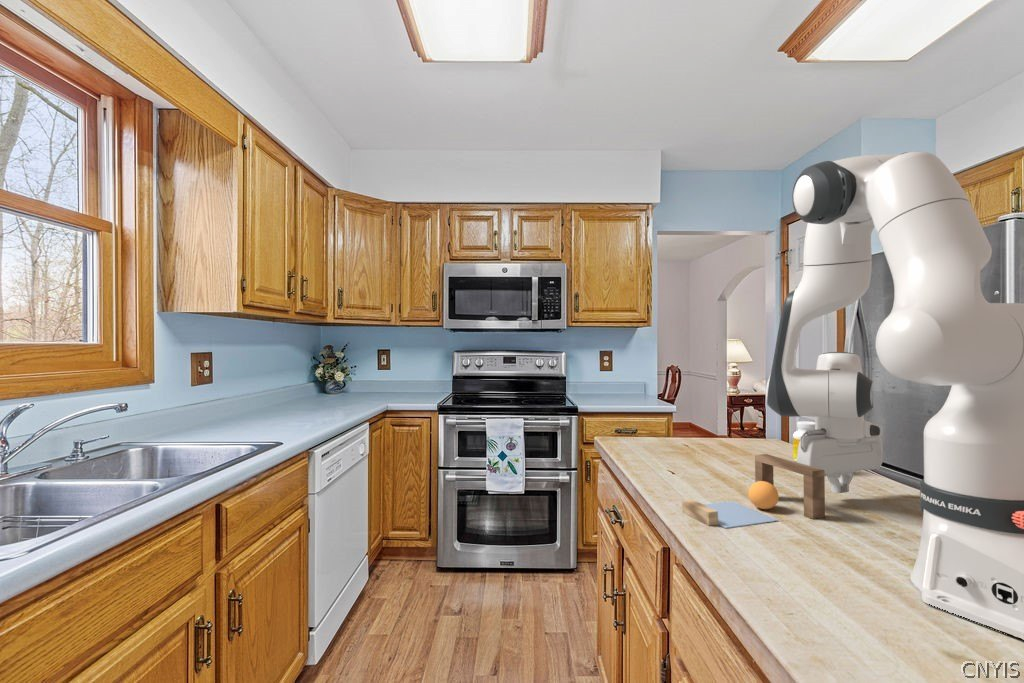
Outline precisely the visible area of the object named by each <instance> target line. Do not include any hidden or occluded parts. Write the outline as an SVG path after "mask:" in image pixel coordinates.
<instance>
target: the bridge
mask: <svg viewBox="0 0 1024 683" xmlns="http://www.w3.org/2000/svg"><path fill="white" fill-rule="evenodd" d="M774 467H776V468H779V469H783V470H786V471H790V472H793V473H796V474H800V475H803V516H804V517H806V518H808V517H809V518H808V519H811V518H812V519H811V520H816V518H818V519H824V518H823V517H825V518H826V495H825V494H826V488H825V483H826V482H825V480H826V479H825V477H826V474H825V472H824V470H823V469H820V468H816V467H812V466H809V465H805V464H801V463H797V462H794V461H793V460H791V459H786V458H783V457H780V456H775V455H771V454H768V453H762V454H754V475H755V476H754V478H755V479H754V483H755V482H758V481H765V482H768V483H770V484H772V485H773V486H774V485H775V484H774V481H775V480H774ZM774 487H775V486H774Z"/></svg>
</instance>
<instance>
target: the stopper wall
mask: <svg viewBox="0 0 1024 683" xmlns="http://www.w3.org/2000/svg"><path fill="white" fill-rule="evenodd" d="M681 501H682V502H681V503H682V504H681V505H682V506H681V507H682V508H681V513H683V514H685V515H688V516H689V517H691V518H693V519H695V520H697V521H699V522H700V523H703V524H704V525H706V526H708V527H710V526H719V525H718V511H716V510H714V509H712V508H710V507H708V506H705V505H704V504H703V503H701V502H699V501H697V500H695V499H693V498H684V499H682V500H681Z"/></svg>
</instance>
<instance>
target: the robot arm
mask: <svg viewBox="0 0 1024 683" xmlns="http://www.w3.org/2000/svg"><path fill="white" fill-rule="evenodd" d="M791 196H792V199H791V200H792V206H793V209H794V213H796V215H797V217H798V218H799V219H800V220H801V221H803V222H805V223H806V228H805V233H804V242H803V256H802V257H803V259H802V260H803V261H802V265H803V267H802V268H803V269H802V276H801V279H800V282H799V283H798V285H797V287H796V288H795V289H794V290H792V291H790V292H789V293H787V295H786V297H785V299H784V301H783V304H782V309H781V313H780V321H779V325H778V330H777V335H776V341H775V342H776V343H775V347H774V353H773V354H774V355H773V358H772V359H773V361H772V366H771V370H770V374H769V376H768V379H767V382H766V386H765V400H766V404H767V406H768V407H769V408H770V409H771V410H772V411H773V412H775V413H776V414H777V415H779V416H781V417H783V418H787V417H790V418H791V417H792V418H795V417H796V418H798V417H814V422H815V430H807V431H805V433H804V434H803V435H802V436H801V437H800V443H799V446H798V453H797V463H801V464H805V465H809V466H812V467H816V468H820V469H823V470H824V472H825V477H826V478H827V480H828V481H829V483H830V487H831V488H830V490H831V492H832V493H833V494H843V493H849V492H850V484H851V482H852V480H853V478H854V472H858V471H859V472H860V471H869V470H877V469H880V468H881V466H882V464H883V459H884V458H883V457H884V452H883V451H884V449H883V446H884V444H883V440H882V438H881V437H882V436H883V433H884V432H883V431H884V429H883V426H882V425H879V424H876V423H872V422H870V421H867V420H865V415H866V414H867V413H868V412H870V411H871V410H872V409H873V408H874V405H873V404H874V403H873V400H872V399H873V398H872V395H873V394H872V393H873V392H872V384H873V383H874V381H873V380H872V379H870V378H869V377H868V376H867V375H865V374H863V369H862V368H863V367H862V363H861V361H862V360H861V358H860V355H858V354H855V353H853V352H847V351H830V352H823V353H821V354H819V355H818V356H817V361H816V366H815V367H816V368H815V369H808V368H807V369H803V368H802V369H801V368H798V367H796V366H795V362H796V357H797V350H798V346H799V339H800V335H801V331H802V329H803V328H804V326H805V325H806V324H808V323H809V322H811V321H814V320H815V319H818V318H820V317H822V316H826V315H828V314H831V313H834V312H837V311H840V310H842V309H845V308H847V307H848V306H850V305H852V304H854V303H855V302H857V301H859V299H861V298H862V297H863V296H864V295H865V294H866V292H867V291H868V290H869V288H870V285H871V284H870V283H871V277H872V270H873V269H872V264H873V263H872V262H873V261H872V259H873V258H872V241H871V240H872V233H873V230H874V229H875V233H876V235H877V237H878V240H879V242H880V245H881V248H882V250H883V254H884V256H885V258H886V262H887V265H888V267H889V270H890V273H891V277H892V280H893V281H892V283H893V289H894V293H893V294H894V296H893V297H894V298H893V306H892V309H891V312H890V313H889V315H888V316H887V317H886V318H884V320H883V322H881V324H880V326H879V328H878V330H877V332H876V337H875V352H876V355H877V358H878V360H879V362H880V364H881V365H882V366H883V368H884V369H886V371H887V372H888V373H890V375H892V376H894V377H896V378H898V379H902V380H905V381H910V382H913V383H914V382H915V383H918V384H923V385H929V386H935V387H936V386H938V387H939V386H941V387H942V386H946V387H947V386H951V388H950V390H949V393H948V396H947V398H946V400H945V402H944V404H943V405H942V407H941V409H940V410H939V411H938V412H937V413H936V414H935V415H933V416H932V417H931V418H930V419H928V421H927V422H926V424H925V426H924V429H923V479H921V480H920V484H919V485H920V487H919V488H920V491H919V505H920V511H921V514H922V525H921V534H920V541H919V547H918V551H917V556H916V559H915V563H914V565H913V568H912V570H911V573H910V576H909V578H910V581H911V583H912V584H913V585H914V586H915V588H917V590H919V591H920V594H921V595H920V598H921V600H922V601H923V602H924V603H925V604H927V605H929V604H930V605H929V606H931V605H932V607H934V606H935V607H934V608H937V607H938V608H937V609H939V608H940V609H939V610H942V609H943V610H942V611H944V610H946V611H945V612H947V611H948V612H947V613H950V614H952V613H954V614H953V615H955V614H956V615H955V616H958V615H959V616H958V617H960V616H962V617H961V618H963V617H965V618H968V619H970V620H969V621H971V620H973V621H976V622H979V623H982V624H985V625H987V626H990V627H993V628H997V629H999V630H1002V631H1006V632H1008V633H1012V634H1016V635H1019V636H1021V637H1023V638H1024V303H1021V302H1003V303H1002V302H989V301H988V300H987V299H986V298H985V296H984V295H983V292H982V287H981V286H982V285H981V277H980V276H981V270H982V269H984V268H985V266H986V265H987V264H988V263H989V262H990V260H991V258H992V253H993V249H992V245H991V244H990V241H989V239H988V237H987V235H986V233H985V230H984V229H983V227H982V225H981V223H980V220H979V218H978V217H977V216H978V215H977V214H976V212H975V210H974V208H973V206H972V203H971V202H970V200H969V198H968V196H967V194H966V193H965V190H964V189H963V187H962V186H961V184H960V183H959V181H958V180H957V178H956V176H954V174H953V173H952V172H951V170H950V169H949V168H948V167H947V165H946V164H945V163H943V161H942V160H941V159H940V158H939V157H938V156H937V155H935V154H933V153H931V152H928V151H922V150H921V151H909V152H903V153H899V154H898V153H894V154H893V153H891V154H890V153H889V154H888V153H887V154H872V155H870V154H865V155H858V156H851V157H846V158H840V159H836V160H833V161H831V160H824V161H821V162H818V163H815V164H812V165H810V166H807V167H806V168H804V169H803V170H802V171H801V172H800V173H799V175H798V177H797V178H796V180H795V181H794V185H793V189H792V195H791ZM965 618H964V619H965ZM968 619H967V620H968ZM973 621H972V622H973ZM976 622H975V623H976ZM979 623H978V624H979Z"/></svg>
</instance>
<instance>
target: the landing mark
mask: <svg viewBox="0 0 1024 683" xmlns="http://www.w3.org/2000/svg"><path fill="white" fill-rule="evenodd" d="M703 505H705V506H708V507H710V508H712V509H714V510H716V511H718V525H717V526H719V527H721V528H724V529H731V528H738V527H747V526H752V525H760V524H766V523H767V522H769V523H774V521H776V522H779V519H777V518H774V517H772V516H769V515H767V514H765V513H763V512H759V511H758V510H755V509H752V508H751V507H748V506H746V505H743V504H741V503H739V502H736V501H733V500H731V501H721V502H713V503H705V504H703Z"/></svg>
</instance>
